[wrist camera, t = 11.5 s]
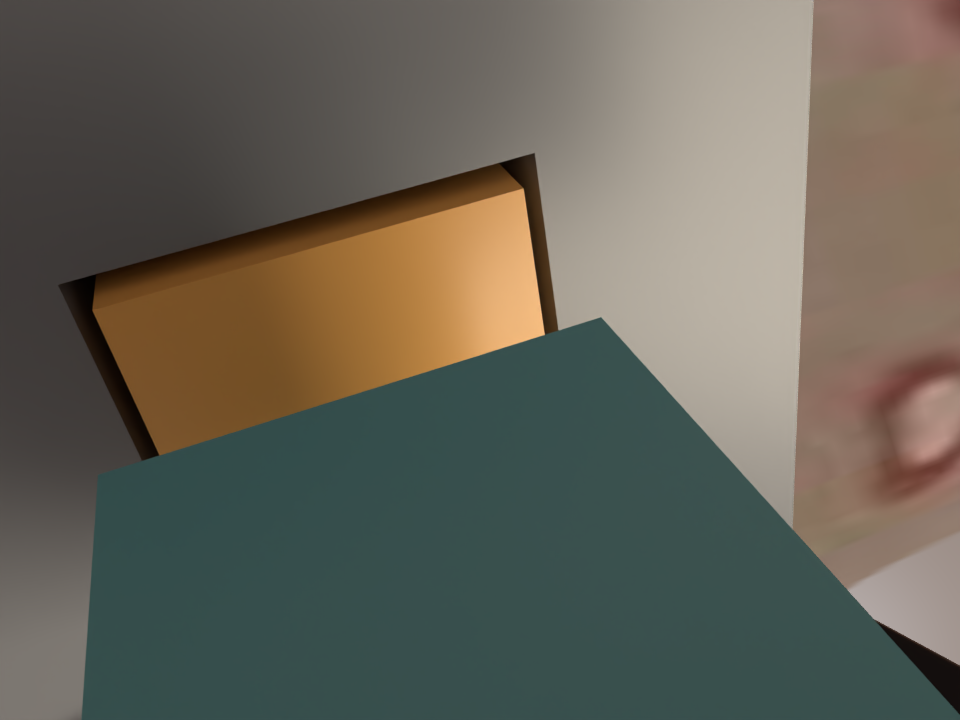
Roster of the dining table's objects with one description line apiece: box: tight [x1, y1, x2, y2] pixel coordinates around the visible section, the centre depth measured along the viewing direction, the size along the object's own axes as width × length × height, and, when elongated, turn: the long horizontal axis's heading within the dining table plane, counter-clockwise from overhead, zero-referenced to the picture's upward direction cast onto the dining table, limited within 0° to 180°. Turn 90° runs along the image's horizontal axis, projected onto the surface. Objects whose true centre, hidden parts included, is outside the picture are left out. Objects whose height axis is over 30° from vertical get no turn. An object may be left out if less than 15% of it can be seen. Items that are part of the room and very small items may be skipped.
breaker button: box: [92, 163, 545, 455], centre depth 14 cm, size 5×5×2 cm
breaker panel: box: [0, 0, 814, 720], centre depth 14 cm, size 14×14×4 cm
